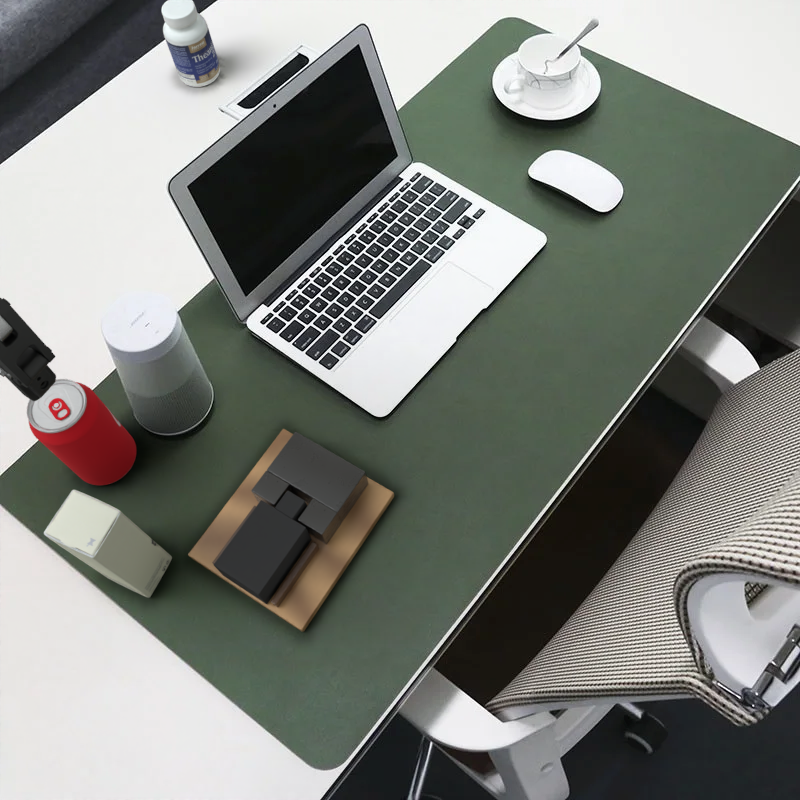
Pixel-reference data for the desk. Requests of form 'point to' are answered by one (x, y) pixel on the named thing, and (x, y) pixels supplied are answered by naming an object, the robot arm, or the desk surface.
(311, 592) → the dock
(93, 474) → the beverage can
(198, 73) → the pill bottle
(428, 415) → the desk surface
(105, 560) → the box
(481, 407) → the desk surface
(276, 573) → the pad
